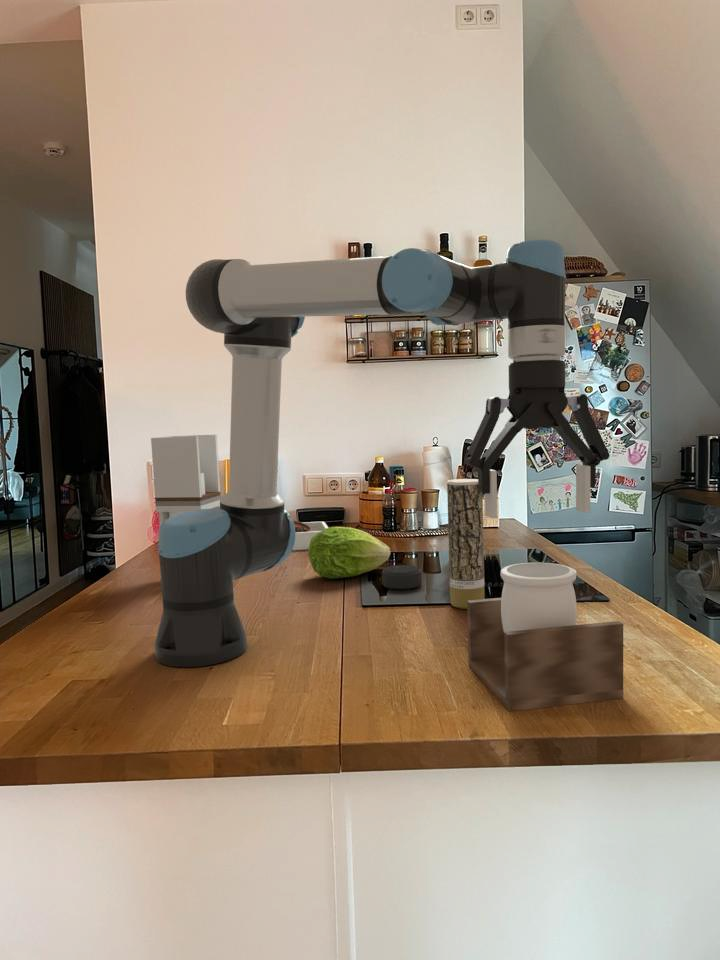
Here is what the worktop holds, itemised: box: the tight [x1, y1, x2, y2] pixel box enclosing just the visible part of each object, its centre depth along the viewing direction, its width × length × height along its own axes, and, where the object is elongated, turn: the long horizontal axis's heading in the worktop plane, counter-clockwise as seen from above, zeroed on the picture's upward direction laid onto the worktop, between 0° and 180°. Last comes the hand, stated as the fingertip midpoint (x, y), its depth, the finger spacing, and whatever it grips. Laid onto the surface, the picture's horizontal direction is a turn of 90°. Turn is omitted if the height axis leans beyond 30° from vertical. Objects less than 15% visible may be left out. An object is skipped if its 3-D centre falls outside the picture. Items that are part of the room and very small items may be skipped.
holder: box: [466, 597, 624, 712], centre depth 98 cm, size 16×16×10 cm
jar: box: [500, 562, 578, 632], centre depth 97 cm, size 11×10×15 cm
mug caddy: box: [291, 520, 329, 552], centre depth 207 cm, size 16×18×5 cm
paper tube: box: [446, 478, 486, 610], centre depth 135 cm, size 7×7×25 cm
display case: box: [150, 434, 222, 588], centre depth 163 cm, size 11×11×35 cm
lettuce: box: [307, 526, 391, 580], centre depth 166 cm, size 13×22×14 cm
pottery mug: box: [293, 520, 310, 533], centre depth 207 cm, size 12×10×8 cm
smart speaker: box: [381, 564, 423, 590], centre depth 154 cm, size 9×9×4 cm
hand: (537, 514), depth 96 cm, fingers open, 13 cm apart
